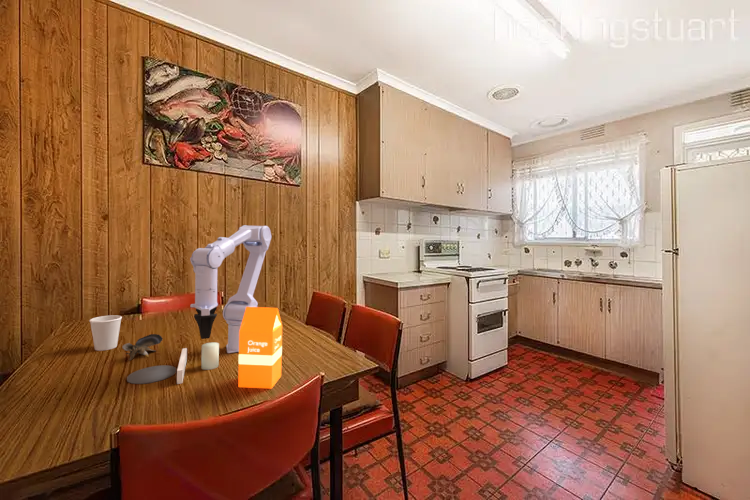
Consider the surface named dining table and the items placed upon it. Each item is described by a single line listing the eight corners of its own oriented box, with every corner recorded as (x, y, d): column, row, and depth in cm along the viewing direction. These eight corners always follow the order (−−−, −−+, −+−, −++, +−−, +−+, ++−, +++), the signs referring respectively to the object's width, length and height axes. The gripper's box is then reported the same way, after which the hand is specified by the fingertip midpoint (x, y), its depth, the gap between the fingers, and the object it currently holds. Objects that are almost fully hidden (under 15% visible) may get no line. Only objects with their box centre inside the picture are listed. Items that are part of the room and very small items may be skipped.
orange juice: (250, 374, 88) (252, 303, 87) (281, 375, 87) (283, 305, 87) (237, 387, 80) (238, 310, 79) (271, 388, 80) (273, 311, 79)
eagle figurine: (146, 358, 94) (168, 343, 103) (131, 339, 93) (154, 326, 102) (129, 369, 95) (152, 353, 104) (114, 350, 94) (138, 336, 103)
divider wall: (186, 359, 97) (187, 348, 97) (182, 383, 81) (182, 369, 81) (182, 359, 96) (182, 348, 96) (176, 384, 81) (177, 370, 80)
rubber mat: (177, 364, 93) (177, 363, 93) (174, 379, 83) (174, 377, 83) (131, 370, 88) (131, 369, 88) (122, 387, 78) (122, 385, 78)
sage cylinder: (218, 362, 95) (218, 341, 95) (218, 368, 91) (219, 346, 91) (201, 365, 93) (201, 343, 93) (201, 370, 89) (201, 348, 89)
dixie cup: (126, 342, 110) (126, 314, 110) (115, 350, 102) (115, 320, 102) (97, 344, 108) (97, 315, 107) (83, 353, 100) (83, 322, 99)
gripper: (192, 285, 96) (191, 329, 97) (188, 293, 83) (188, 343, 84) (217, 284, 99) (217, 327, 100) (218, 292, 87) (217, 340, 87)
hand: (205, 334), depth 92 cm, fingers open, 7 cm apart
